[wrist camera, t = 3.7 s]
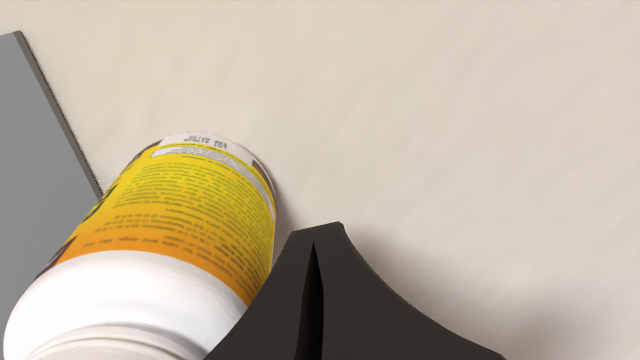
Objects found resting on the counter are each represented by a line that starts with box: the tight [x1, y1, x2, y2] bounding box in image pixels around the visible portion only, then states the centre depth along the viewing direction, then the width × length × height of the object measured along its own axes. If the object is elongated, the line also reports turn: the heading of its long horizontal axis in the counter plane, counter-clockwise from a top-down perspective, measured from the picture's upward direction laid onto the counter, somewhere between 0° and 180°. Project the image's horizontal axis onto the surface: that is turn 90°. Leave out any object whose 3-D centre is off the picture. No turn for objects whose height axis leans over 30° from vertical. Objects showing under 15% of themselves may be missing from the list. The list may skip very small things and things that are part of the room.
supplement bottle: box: [3, 133, 277, 360], centre depth 13 cm, size 6×6×10 cm
